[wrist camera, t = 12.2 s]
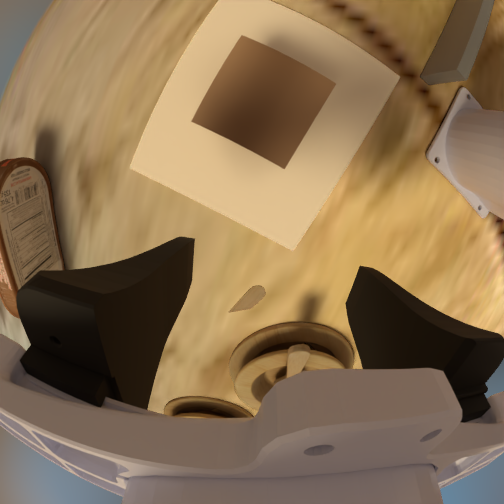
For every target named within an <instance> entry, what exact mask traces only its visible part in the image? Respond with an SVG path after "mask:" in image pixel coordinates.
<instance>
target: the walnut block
mask: <svg viewBox="0 0 504 504" xmlns="http://www.w3.org/2000/svg"><path fill="white" fill-rule="evenodd" d="M335 85H336V83H335V82H333V81H331V80H330V79H328V78H327V77H325V76H323V75H322V74H320V73H318V72H316V71H315V70H313V69H311V68H309V67H308V66H306V65H304V64H302V63H300V62H299V61H297V60H295V59H293V58H291V57H289V56H287V55H285V54H283V53H281V52H279V51H277V50H275V49H273V48H271V47H268V46H266V45H264V44H262V43H260V42H257V41H255V40H253V39H250V38H248V37H246V36H243V35H241V37H240V38H239V40H238V41H237V43H236V44H235V46H234V47H233V49H232V51H231V52H230V54H229V55H228V57H227V59H226V60H225V62H224V63H223V65H222V67H221V68H220V70H219V72H218V73H217V75H216V77H215V79H214V80H213V82H212V84H211V86H210V87H209V89H208V91H207V93H206V94H205V96H204V98H203V100H202V102H201V104H200V105H199V107H198V109H197V111H196V113H195V115H194V117H193V119H192V121H191V122H193V123H195V124H197V125H199V126H202V127H204V128H206V129H208V130H210V131H212V132H214V133H216V134H218V135H220V136H222V137H225V138H227V139H229V140H231V141H233V142H235V143H236V144H238V145H240V146H242V147H244V148H246V149H248V150H250V151H252V152H254V153H256V154H258V155H259V156H261V157H263V158H265V159H267V160H269V161H270V162H272V163H274V164H276V165H278V166H279V167H281V168H283V169H285V168H286V166H287V165H288V163H289V161H290V160H291V158H292V156H293V155H294V153H295V151H296V150H297V148H298V146H299V145H300V143H301V141H302V140H303V138H304V136H305V135H306V133H307V131H308V130H309V128H310V126H311V125H312V123H313V121H314V120H315V118H316V116H317V115H318V113H319V111H320V110H321V108H322V107H323V105H324V103H325V102H326V100H327V98H328V97H329V95H330V93H331V92H332V90H333V89H334V87H335Z"/></svg>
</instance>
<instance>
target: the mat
mask: <svg viewBox="0 0 504 504" xmlns="http://www.w3.org/2000/svg"><path fill="white" fill-rule="evenodd" d="M241 35H243V36H246V37H248V38H250V39H253V40H255V41H257V42H260V43H262V44H264V45H266V46H268V47H271V48H273V49H275V50H277V51H279V52H281V53H283V54H285V55H287V56H289V57H291V58H293V59H295V60H297V61H299V62H300V63H302V64H304V65H306V66H308V67H309V68H311V69H313V70H315V71H316V72H318V73H320V74H322V75H323V76H325V77H327V78H328V79H330V80H331V81H333V82H335V83H336V85H335V87H334V89H333V90H332V92H331V93H330V95H329V97H328V98H327V100H326V102H325V103H324V105H323V107H322V108H321V110H320V111H319V113H318V115H317V116H316V118H315V120H314V121H313V123H312V125H311V126H310V128H309V130H308V131H307V133H306V135H305V136H304V138H303V140H302V141H301V143H300V145H299V146H298V148H297V150H296V151H295V153H294V155H293V156H292V158H291V160H290V161H289V163H288V165H287V166H286V168H285V169H283V168H281V167H279V166H278V165H276V164H274V163H272V162H270V161H269V160H267V159H265V158H263V157H261V156H259V155H258V154H256V153H254V152H252V151H250V150H248V149H246V148H244V147H242V146H240V145H238V144H236V143H235V142H233V141H231V140H229V139H227V138H225V137H222V136H220V135H218V134H216V133H214V132H212V131H210V130H208V129H206V128H204V127H202V126H199V125H197V124H195V123H193V122H191V121H192V119H193V117H194V115H195V113H196V111H197V109H198V107H199V105H200V104H201V102H202V100H203V98H204V96H205V94H206V93H207V91H208V89H209V87H210V86H211V84H212V82H213V80H214V79H215V77H216V75H217V73H218V72H219V70H220V68H221V67H222V65H223V63H224V62H225V60H226V59H227V57H228V55H229V54H230V52H231V51H232V49H233V47H234V46H235V44H236V43H237V41H238V40H239V38H240V37H241ZM399 79H400V76H398V75H397V74H396V73H395V72H393V71H392V70H391V69H389V68H388V67H387V66H386V65H384V64H383V63H381V62H380V61H379V60H377V59H376V58H375V57H373V56H372V55H370V54H369V53H367V52H366V51H364V50H363V49H361V48H360V47H358V46H357V45H355V44H354V43H352V42H351V41H349V40H347V39H346V38H344V37H342V36H341V35H339V34H337V33H336V32H334V31H332V30H330V29H329V28H327V27H325V26H323V25H321V24H320V23H318V22H316V21H314V20H312V19H310V18H308V17H306V16H304V15H302V14H300V13H298V12H295V11H293V10H291V9H289V8H287V7H284V6H282V5H280V4H277V3H275V2H272V1H270V0H218V2H217V3H216V5H215V6H214V7H213V9H212V10H211V11H210V13H209V14H208V16H207V17H206V19H205V20H204V22H203V23H202V25H201V26H200V28H199V29H198V31H197V32H196V34H195V35H194V37H193V38H192V40H191V42H190V43H189V45H188V47H187V48H186V50H185V52H184V53H183V55H182V57H181V58H180V60H179V62H178V64H177V65H176V67H175V69H174V71H173V73H172V75H171V76H170V78H169V80H168V82H167V84H166V86H165V88H164V90H163V92H162V94H161V96H160V98H159V100H158V102H157V104H156V106H155V108H154V110H153V112H152V115H151V117H150V119H149V121H148V123H147V126H146V128H145V130H144V133H143V135H142V137H141V140H140V142H139V145H138V147H137V150H136V152H135V155H134V157H133V160H132V163H131V165H130V169H132V170H134V171H136V172H138V173H140V174H142V175H144V176H146V177H149V178H151V179H153V180H155V181H157V182H159V183H161V184H163V185H165V186H167V187H169V188H171V189H173V190H175V191H177V192H179V193H181V194H183V195H185V196H187V197H189V198H191V199H193V200H195V201H197V202H199V203H201V204H203V205H205V206H207V207H209V208H211V209H212V210H214V211H216V212H218V213H220V214H222V215H224V216H226V217H228V218H230V219H232V220H234V221H236V222H238V223H240V224H242V225H244V226H246V227H247V228H249V229H251V230H253V231H255V232H257V233H259V234H261V235H263V236H265V237H267V238H269V239H270V240H272V241H274V242H276V243H278V244H280V245H282V246H284V247H286V248H288V249H289V250H291V251H294V249H295V248H296V246H297V245H298V243H299V242H300V240H301V239H302V237H303V235H304V234H305V232H306V231H307V229H308V228H309V226H310V225H311V223H312V222H313V220H314V219H315V217H316V216H317V214H318V212H319V211H320V209H321V208H322V206H323V205H324V203H325V202H326V200H327V198H328V197H329V195H330V194H331V192H332V191H333V189H334V187H335V186H336V184H337V183H338V181H339V179H340V178H341V176H342V175H343V173H344V171H345V170H346V168H347V167H348V165H349V163H350V162H351V160H352V158H353V157H354V155H355V154H356V152H357V150H358V149H359V147H360V145H361V144H362V142H363V140H364V139H365V137H366V135H367V134H368V132H369V130H370V129H371V127H372V125H373V124H374V122H375V120H376V119H377V117H378V115H379V113H380V112H381V110H382V108H383V107H384V105H385V103H386V101H387V100H388V98H389V96H390V94H391V93H392V91H393V89H394V87H395V86H396V84H397V82H398V80H399Z"/></svg>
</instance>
